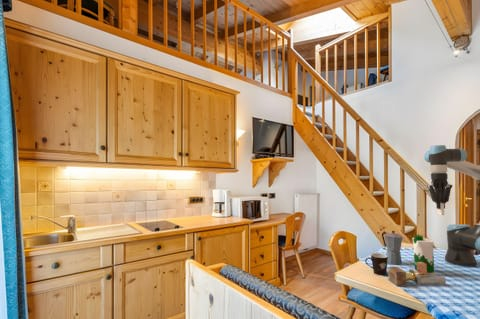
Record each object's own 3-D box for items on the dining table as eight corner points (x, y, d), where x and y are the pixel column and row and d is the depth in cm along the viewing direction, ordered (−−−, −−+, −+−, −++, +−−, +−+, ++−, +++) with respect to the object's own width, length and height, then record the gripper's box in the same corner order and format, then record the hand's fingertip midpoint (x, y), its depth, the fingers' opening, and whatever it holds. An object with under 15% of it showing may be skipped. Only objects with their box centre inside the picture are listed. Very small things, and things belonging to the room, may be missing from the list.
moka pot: (399, 267, 161) (397, 233, 162) (376, 260, 176) (375, 228, 176) (409, 265, 165) (408, 231, 166) (387, 257, 179) (385, 227, 180)
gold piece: (422, 278, 142) (422, 261, 143) (427, 281, 139) (426, 264, 139) (392, 279, 142) (391, 262, 143) (396, 282, 139) (395, 264, 139)
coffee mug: (388, 271, 156) (387, 253, 156) (389, 277, 148) (388, 258, 148) (365, 268, 161) (365, 251, 161) (365, 274, 153) (364, 256, 153)
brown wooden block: (398, 279, 144) (397, 266, 144) (406, 285, 137) (405, 271, 137) (388, 280, 144) (388, 266, 144) (396, 286, 137) (396, 271, 137)
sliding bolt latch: (436, 279, 144) (435, 267, 144) (445, 284, 137) (445, 272, 137) (409, 279, 144) (409, 268, 144) (418, 285, 137) (417, 273, 137)
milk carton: (412, 268, 160) (410, 234, 160) (429, 269, 158) (427, 234, 159) (419, 274, 151) (417, 237, 152) (437, 275, 149) (435, 238, 150)
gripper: (445, 172, 157) (447, 213, 156) (422, 172, 157) (425, 213, 156) (455, 172, 150) (458, 215, 149) (432, 173, 150) (434, 216, 149)
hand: (441, 214), depth 153 cm, fingers closed
